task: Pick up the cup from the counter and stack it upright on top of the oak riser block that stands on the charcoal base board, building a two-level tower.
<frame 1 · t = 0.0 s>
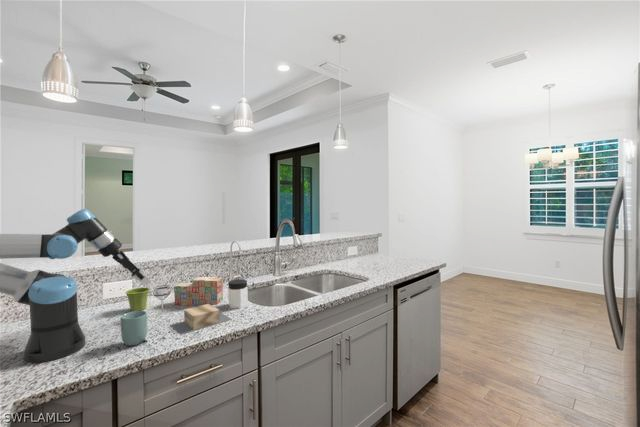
hand: (143, 280, 128), 15 cm above the worktop, tool tilted 35°, fingers open, 13 cm apart
wineglass: (162, 314, 130), on the worktop
jar: (238, 307, 138), on the worktop
base board: (202, 324, 119), on the worktop
oak riser: (202, 322, 119), point 1 cm above the worktop, touching base board
stack of blocks: (199, 304, 144), on the worktop
cup: (134, 343, 104), on the worktop
plant pot: (138, 309, 137), on the worktop
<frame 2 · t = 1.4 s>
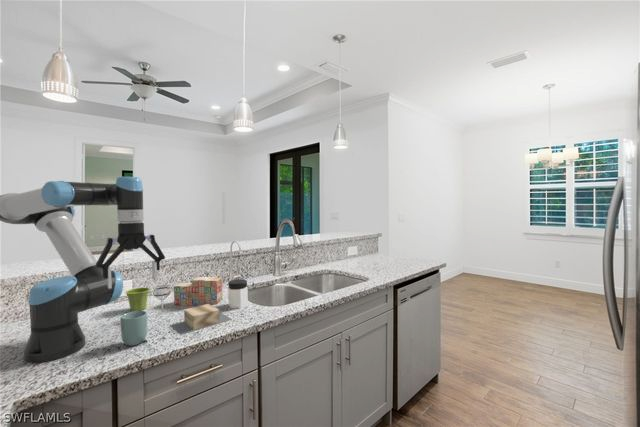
hand: (133, 283, 103), 21 cm above the worktop, tool pointing down, fingers open, 13 cm apart
nothing on the worktop moved.
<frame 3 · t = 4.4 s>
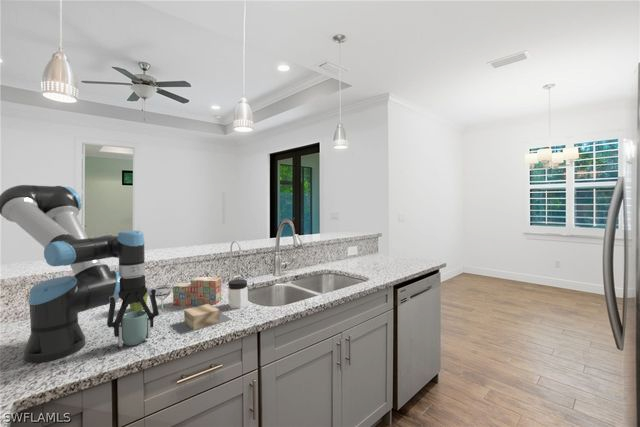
hand: (134, 340, 104), 1 cm above the worktop, tool pointing down, fingers closed on cup, 8 cm apart
cup: (134, 343, 104), on the worktop, touching gripper
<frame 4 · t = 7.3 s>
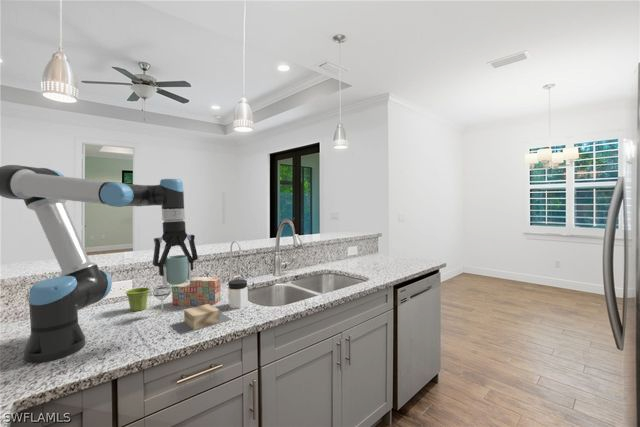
hand: (177, 281, 112), 19 cm above the worktop, tool pointing down, fingers closed on cup, 8 cm apart
cup: (177, 284, 112), point 18 cm above the worktop, touching gripper
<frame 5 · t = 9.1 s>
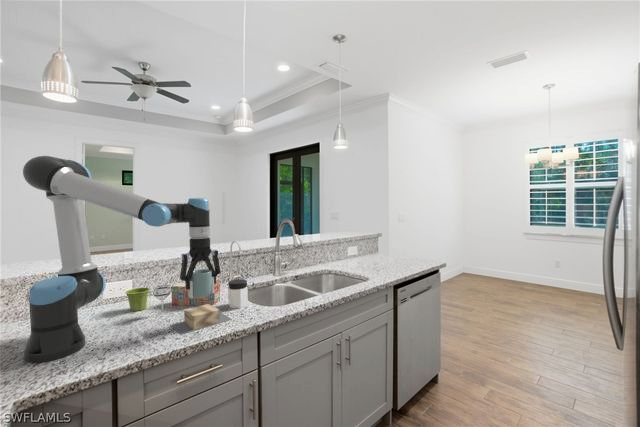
hand: (201, 294, 118), 12 cm above the worktop, tool pointing down, fingers closed on cup, 8 cm apart
cup: (201, 296, 118), point 11 cm above the worktop, touching gripper
when the fingers open (9 cm above the worktop, at t = 10.5 s): cup drops 2 cm, resting on oak riser.
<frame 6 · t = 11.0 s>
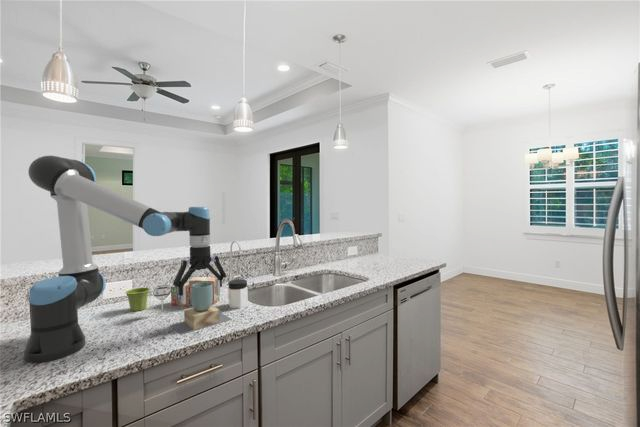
hand: (201, 299, 118), 10 cm above the worktop, tool pointing down, fingers open, 13 cm apart
oak riser: (202, 322, 119), point 1 cm above the worktop, touching base board, cup
cup: (202, 309, 119), point 6 cm above the worktop, touching oak riser
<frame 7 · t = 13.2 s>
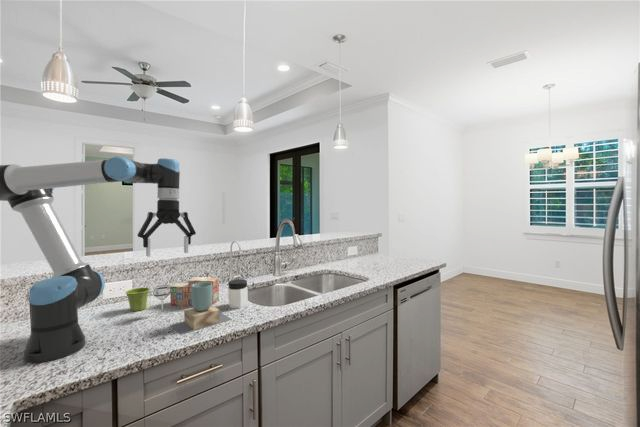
hand: (167, 254, 116), 28 cm above the worktop, tool pointing down, fingers open, 13 cm apart
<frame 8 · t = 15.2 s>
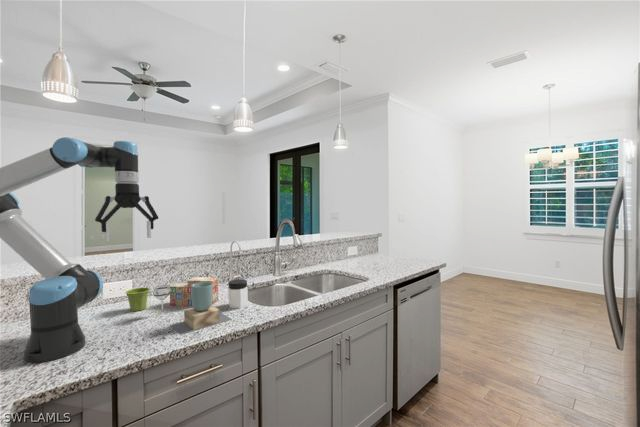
hand: (129, 239, 114), 35 cm above the worktop, tool pointing down, fingers open, 13 cm apart
at the end: cup 0.3 cm off-centre on the oak riser, point 4.8 cm above the oak riser's base; cup tilted 0°; the gripper is holding nothing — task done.
